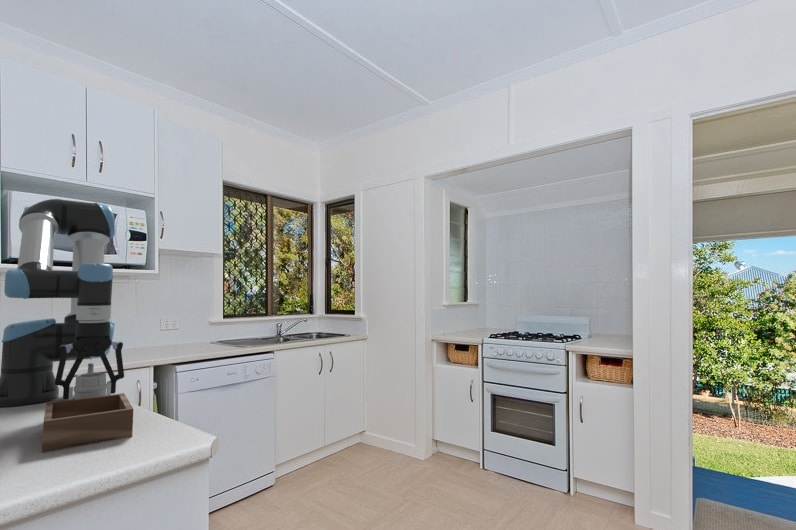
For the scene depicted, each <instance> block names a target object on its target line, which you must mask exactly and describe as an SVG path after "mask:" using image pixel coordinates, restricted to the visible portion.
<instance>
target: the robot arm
mask: <svg viewBox="0 0 796 530" xmlns="http://www.w3.org/2000/svg"><path fill="white" fill-rule="evenodd" d="M115 226H116V223H115V215H114V212H113V209H112V207H111V206H109V205H108V204H102V203H97V202H86V201H85V202H84V201H79V200H78V201H76V200H69V199H67V200H66V199H61V198H60V199H59V198H53V199H46V200H45V199H44V200H42V201H39V202H37V203H35V204H33V205H31V206H29V207H28V208H27V209H25V211H23V213H22V214H21V216H20V218H19V222H18V229H19V230H20V233H21V239H20V246H19V254H18V255H19V256H18V260H17V268H16V269H8V270H6V272H5V277H4V296H6V297H7V298H10V299H24V300H26V299H70V312H69V313H68V314H67V315H65V316H64V319H63V322H57V321H56V319H55V318H44V319H43V318H42V319H35V320H34V319H33V320H26V321H20V322H15V323H11V324H8V325H7V326H6V327H5V328H4V329H3V336H2V340H1V343H2V349H1V350H2V351H1V363H0V407H17V406H26V405H34V404H38V403H39V404H40V403H43V402H49V401H51V400H54V399H55V400H56V399H57V398H58V397H59V394H60V387H59V386H61V387H62V388H63V391H62V394H63V395H62V399H63V400H72V399H73V398H74V395H73V392H74V384H71V383H72V381H73V379H74V377H75V376H76V374H77V372H78V369H79V368H80V366H81V364H82V363H83V361H84V360H91V361H92V360H93V359H101V362H102V364H103V365H104V368H105V370H106V371H105V372H106V374H108V377H109V380H106V384H107V388H106V395H113V394H116V389H117V382H118V381H120V380H123V379H124V378H125V371H124V363H123V354H122V349H123V348H124V347H123V346H124V343H123V342H122V341H119V340H118V341H113V339H114V333H115V321H112V320H111V319H112V316H111V315H112V294H113V293H112V292H113V280H114V273H113V270H114V269H113V266H112V265H111V264H110V263H105V246H106V245H108V244H109V243H110V239H113V238H114V237H115V233H116V229H115ZM56 235H64V236H65V235H66V236H67V241H68V242H69V243H70V244H72V268H71V270H54V251H55V249H54V247H55V245H54V244H55V236H56ZM111 347H112V349H113V350H114V352H115V353H114V355H115V360H116V361H115V362H116V368H117V369H116V370H117V374H115V373H114V370H113V368H112V366H111V364H110V361H109V360H108V357H107V356H108V355H109V353H110V350H111ZM69 361H74V363H73V364H72V367H71V368H70V370H69V372H68V374H67V376H66V378H65V379H63V376H64V375H63V374H64V371H65V367H66V362H69ZM54 362H59V363H58V367H57V371H56V375H55V373H54V368H53V367H54Z"/></svg>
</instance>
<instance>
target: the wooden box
mask: <svg viewBox="0 0 796 530" xmlns="http://www.w3.org/2000/svg"><path fill="white" fill-rule="evenodd" d="M44 409H45V410H44V416H43V426H42V441H41V442H42V444H41V453H47V452H53V451H58V449H59V450H63V449H69V448H75V447H80V446H87V445H92V444H98V443H102V442H103V441H104V442H108V441H109V442H110V441H115V440H121V439H125V438H132V437H133V428H134V427H133V425H134V408H133V406H132V404H131V403H130V401H129V399H128V398H127V395H126V394H125V392H121V393H114V394H111V395H105V396H97V397H89V398H80V399H74V398H72V400H68V399H63V400H59V401H58V400H57V401H47V402H46V403H45V408H44Z"/></svg>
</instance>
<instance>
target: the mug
mask: <svg viewBox="0 0 796 530" xmlns="http://www.w3.org/2000/svg"><path fill="white" fill-rule="evenodd" d="M94 367H95V366H94V362H89V363H88V364H87V373H81V374H78V375H75V376H76V377H75V386H73V392H74V395H73V399H80V398H89V397H97V396H105V395H106V391H107V372H94Z"/></svg>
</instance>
